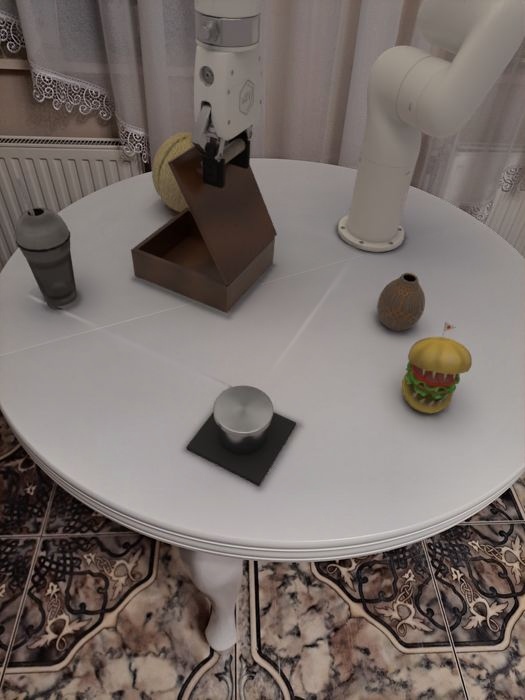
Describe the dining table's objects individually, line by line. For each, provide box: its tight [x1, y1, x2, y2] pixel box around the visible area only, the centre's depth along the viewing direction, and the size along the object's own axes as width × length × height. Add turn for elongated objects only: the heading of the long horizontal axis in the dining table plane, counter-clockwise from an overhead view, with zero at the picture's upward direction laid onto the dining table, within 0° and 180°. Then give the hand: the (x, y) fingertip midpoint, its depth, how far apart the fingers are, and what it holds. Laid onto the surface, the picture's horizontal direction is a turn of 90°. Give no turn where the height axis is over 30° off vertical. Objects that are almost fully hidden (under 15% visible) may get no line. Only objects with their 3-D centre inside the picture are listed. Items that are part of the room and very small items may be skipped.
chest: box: [130, 208, 276, 314], centre depth 84 cm, size 18×16×6 cm
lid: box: [168, 131, 278, 285], centre depth 74 cm, size 18×16×5 cm
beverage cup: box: [14, 177, 77, 311], centre depth 72 cm, size 7×7×20 cm
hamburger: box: [401, 321, 473, 414], centre depth 65 cm, size 8×7×12 cm
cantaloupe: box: [151, 131, 194, 213], centre depth 95 cm, size 15×15×15 cm
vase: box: [376, 272, 426, 331], centre depth 77 cm, size 7×7×9 cm
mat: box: [186, 411, 297, 487], centre depth 63 cm, size 10×10×1 cm
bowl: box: [212, 385, 274, 455], centre depth 61 cm, size 7×7×5 cm
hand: (226, 174), depth 72 cm, fingers closed on lid, 6 cm apart
